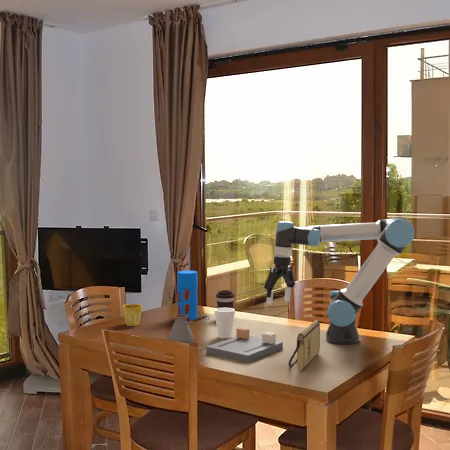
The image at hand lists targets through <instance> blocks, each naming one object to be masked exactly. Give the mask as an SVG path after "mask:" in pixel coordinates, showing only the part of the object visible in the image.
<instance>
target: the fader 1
mask: <svg viewBox="0 0 450 450" xmlns="http://www.w3.org/2000/svg"><path fill="white" fill-rule="evenodd" d="M235 332H236V336H235V337H238V338H243V339H247V338H249V336H250V328H247V327H241V326H239V327H237V328H236V331H235Z"/></svg>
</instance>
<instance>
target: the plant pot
mask: <svg viewBox="0 0 450 450" xmlns="http://www.w3.org/2000/svg"><path fill="white" fill-rule="evenodd" d="M143 307H144V306H143V304H140V303H128V304H123V305H122V307H121V309H122V311H121V313H122V314H123V318H124V321H125V326H127V327H128V326H129V327H135V326H139V325H140V320H141V315H142V313H143Z"/></svg>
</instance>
